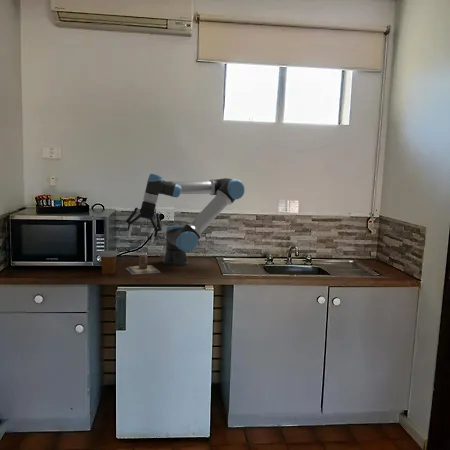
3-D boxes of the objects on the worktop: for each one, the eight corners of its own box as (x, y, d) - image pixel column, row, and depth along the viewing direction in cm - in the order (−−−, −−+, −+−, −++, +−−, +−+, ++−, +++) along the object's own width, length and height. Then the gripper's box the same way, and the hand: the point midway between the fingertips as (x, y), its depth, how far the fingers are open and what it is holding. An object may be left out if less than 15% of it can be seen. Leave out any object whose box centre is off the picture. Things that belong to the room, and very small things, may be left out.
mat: (153, 267, 272) (153, 266, 272) (161, 273, 258) (161, 272, 258) (125, 269, 265) (125, 268, 265) (132, 275, 252) (132, 274, 252)
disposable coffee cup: (112, 276, 249) (112, 253, 248) (96, 274, 251) (96, 252, 250) (120, 272, 258) (120, 250, 257) (104, 270, 260) (104, 249, 259)
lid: (151, 267, 270) (151, 253, 269) (157, 272, 259) (158, 257, 258) (128, 268, 265) (129, 254, 264) (134, 273, 253) (134, 258, 252)
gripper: (126, 196, 257) (116, 233, 257) (169, 207, 254) (160, 245, 254) (130, 197, 264) (121, 233, 264) (172, 207, 261) (163, 244, 262)
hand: (140, 239), depth 259 cm, fingers open, 13 cm apart
